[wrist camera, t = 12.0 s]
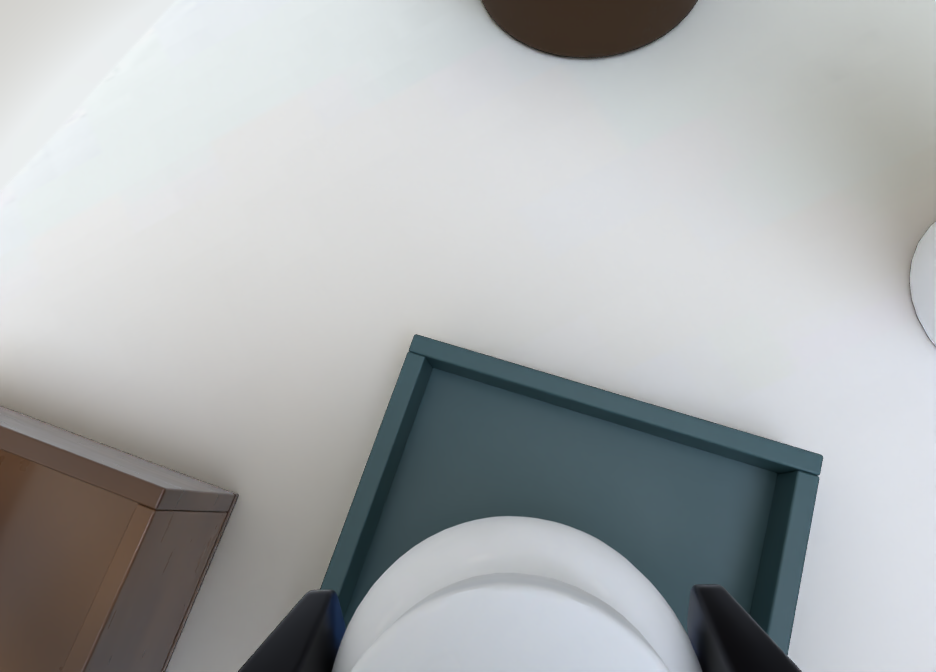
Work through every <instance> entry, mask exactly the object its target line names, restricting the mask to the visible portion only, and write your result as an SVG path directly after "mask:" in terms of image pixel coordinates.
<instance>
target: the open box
mask: <svg viewBox="0 0 936 672" xmlns="http://www.w3.org/2000/svg"><path fill="white" fill-rule="evenodd" d="M237 497H238V494H235V493H233V492H230V491H227V490H225V489H222V488H219V487H217V486H214V485H211V484H209V483H206V482H203V481H201V480H198V479H195V478H193V477H190V476H187V475H185V474H182V473H179V472H176V471H174V470H171V469H168V468H166V467H163V466H160V465H158V464H155V463H152V462H150V461H147V460H144V459H142V458H139V457H136V456H134V455H131V454H128V453H125V452H123V451H120V450H117V449H115V448H112V447H109V446H107V445H104V444H101V443H99V442H96V441H93V440H91V439H88V438H85V437H83V436H80V435H77V434H75V433H72V432H69V431H66V430H64V429H61V428H58V427H56V426H53V425H50V424H48V423H45V422H42V421H40V420H37V419H34V418H32V417H29V416H26V415H24V414H21V413H18V412H16V411H13V410H10V409H7V408H5V407H2V406H0V672H165V670H166V667H167V665H168V663H169V660H170V658H171V655H172V653H173V651H174V648H175V646H176V643H177V641H178V639H179V636H180V634H181V631H182V629H183V627H184V624H185V622H186V619H187V617H188V615H189V612H190V610H191V607H192V605H193V603H194V600H195V598H196V595H197V593H198V591H199V588H200V586H201V584H202V581H203V579H204V576H205V574H206V572H207V569H208V567H209V564H210V562H211V560H212V557H213V555H214V552H215V550H216V548H217V545H218V543H219V540H220V538H221V536H222V533H223V531H224V528H225V526H226V524H227V521H228V519H229V516H230V514H231V512H232V509H233V507H234V504H235V502H236V500H237Z"/></svg>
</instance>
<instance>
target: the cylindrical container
mask: <svg viewBox="0 0 936 672" xmlns="http://www.w3.org/2000/svg"><path fill="white" fill-rule="evenodd" d="M910 288H911V296H912V301H913V304H914V307H915V310H916V313H917V316H918V319H919V321H920V322H921V324H922V326H923V328H924V330H925V331H926V333H927V335H928V337H929V338H930V339H931V341H932V342H933V343H934V344H935V346H936V222H935V223H934V224H932V225H931V226H930V227H929V229H928V230H927V231H926V233H925V234H924V236H923V237H922V239H921V240H920V241H919V243H918V245H917V248H916V251H915V253H914V256H913V259H912V263H911V272H910Z"/></svg>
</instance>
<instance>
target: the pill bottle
mask: <svg viewBox="0 0 936 672" xmlns="http://www.w3.org/2000/svg"><path fill="white" fill-rule="evenodd" d="M332 672H702V669H701V665H700V663H699V661H698V658H697V656H696V653H695V651H694V649H693V646H692V644H691V641H690V639H689V637H688V635H687V633H686V631H685V630H684V628H683V626H682V625H681V623H680V621H679V620H678V618H677V616H676V615H675V613H674V611H673V610H672V609H671V607H670V606H669V604H668V603H667V602H666V600H665V599H664V598H663V596H662V595H661V594H660V593H659V591H658V590H657V589H656V588H655V587H654V586H653V584H652V583H651V582H650V581H649V580H648V579H647V578H646V577H645V576H644V575H643V574H642V573H641V572H640V571H639V570H638V569H637V568H635V567H634V566H633V565H632V564H631V563H630V562H629V561H628V560H627V559H626V558H624V557H623V556H622V555H621V554H619V553H618V552H617V551H615V550H614V549H612V548H611V547H609V546H608V545H606V544H605V543H603V542H602V541H600V540H599V539H597V538H595V537H593V536H591V535H589V534H587V533H585V532H582V531H580V530H577V529H575V528H572V527H570V526H567V525H564V524H560V523H557V522H553V521H548V520H543V519H538V518H531V517H519V516H499V517H489V518H483V519H477V520H473V521H469V522H465V523H462V524H459V525H456V526H453V527H450V528H448V529H445V530H443V531H441V532H439V533H437V534H435V535H433V536H431V537H429V538H427V539H425V540H424V541H422V542H420V543H419V544H417V545H416V546H414V547H413V548H411V549H410V550H409V551H408V552H406V553H405V554H404V555H402V556H401V557H400V558H399V559H398V560H397V561H396V562H395V563H393V564H392V565H391V566H390V567H389V568H388V569H387V570H386V571H385V572H384V573H383V575H382V576H381V577H380V578H379V579H378V580H377V581H376V582H375V583H374V585H373V586H372V587H371V588H370V590H369V591H368V593H367V594H366V596H365V597H364V599H363V600H362V602H361V603H360V605H359V606H358V608H357V609H356V611H355V613H354V615H353V617H352V619H351V621H350V623H349V625H348V627H347V629H346V631H345V633H344V635H343V638H342V641H341V643H340V646H339V649H338V652H337V655H336V658H335V661H334V665H333V668H332Z"/></svg>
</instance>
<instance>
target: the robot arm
mask: <svg viewBox="0 0 936 672" xmlns="http://www.w3.org/2000/svg"><path fill="white" fill-rule="evenodd" d="M687 629H688V637H689V639H690V641H691V644H692V646H693V649H694V651H695V653H696V656H697V658H698V661H699V663H700V665H701V669H702V672H802V671H801V670H800V669H799V668H798V667H797V666H796V665H795V664H794V663H793V662H792V660H791V659H790V658H789V657H788V656H787V655H786V654H785V653H784V652H783V651H782V650H781V649H780V647H779V646H778V645H777V644H776V643H775V642H774V641H773V640H772V639H771V638H770V637H769V636H768V634H767V633H766V632H765V631H764V630H763V629H762V628H761V627H760V626H759V625H758V624H757V623H756V622H755V620H754V619H753V618H752V617H751V616H750V615H749V614H748V613H747V612H746V611H745V610H744V609H743V607H742V606H741V605H740V604H739V603H738V602H737V601H736V600H735V599H734V598H733V597H732V596H731V595H730V593H729V592H728V591H727V590H726V589H725V588H724V587H722V586H721V585H719V584H696V585H694V586H692V588H691V592H690V600H689V609H688V618H687ZM345 631H346V627H345V621H344V618H343V614H342V610H341V607H340V603H339V599H338V596H337V593H336V592H335V591H334V590H311V591H309V592H308V593H306V594H305V595H304V596H303V597H302V599H301V600H300V601H299V602H298V603H297V604H296V605H295V607H294V608H293V609H292V610H291V611H290V612H289V614H288V615H287V616H286V617H285V618H284V619H283V620H282V622H281V623H280V624H279V625H278V626H277V627H276V628H275V630H274V631H273V632H272V633H271V634H270V635H269V636H268V638H267V639H266V640H265V641H264V642H263V643H262V644H261V646H260V647H259V648H258V649H257V650H256V651H255V652H254V654H253V655H252V656H251V657H250V658H249V659H248V661H247V662H246V663H245V664H244V665H243V666H242V667H241V669H240V670H239V671H238V672H332V668H333V665H334V661H335V658H336V655H337V652H338V649H339V646H340V643H341V641H342V638H343V635H344V633H345Z"/></svg>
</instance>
